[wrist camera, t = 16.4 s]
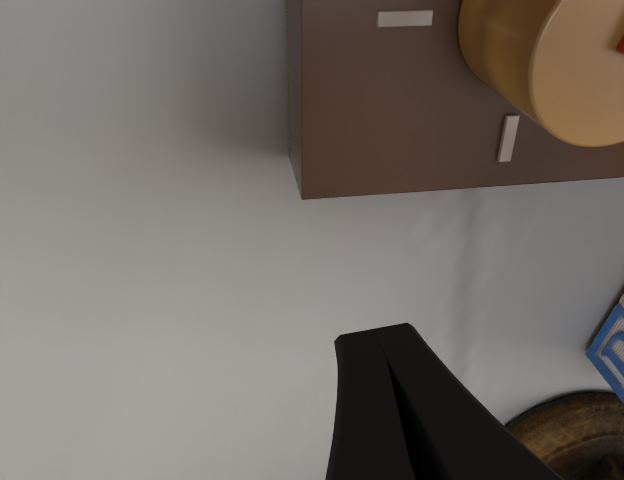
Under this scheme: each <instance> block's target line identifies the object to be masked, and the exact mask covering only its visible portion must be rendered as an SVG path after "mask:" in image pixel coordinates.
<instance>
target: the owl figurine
mask: <svg viewBox="0 0 624 480" xmlns="http://www.w3.org/2000/svg"><path fill="white" fill-rule="evenodd" d="M505 428H506V429H508V430H509V431H510V432H511V433H512V434H513V435H514V436H515V437H516V438H517V439H519V440H520V441H521V442H522V443H523V444H524V445H525V446H526V447H527V448H528V449H529V450H531V451H532V452H533V453H534V454H535V455H536V456H538V457H539V458H540V459H541V460H542V461H543V462H544V463H546V464H547V465H548V466H549V467H550V468H552V469H553V470H554V471H555V472H556V473H558V474H559V475H560V476H561V477H562V478H564V479H565V480H624V403H623V402H622V401H621V400H620V398H619V397H618V396H617V395H616V394H609V393H607V394H603V393H590V394H577V395H572V396H567V397H564V398H561V399H559V400H556V401H553V402H552V403H549V404H543V405H541V406H538V407H536V408H533V409H531V410H530V411H528V412H527V413H525V414H523V415H522V416H520V417H519V418H518V419H516V420H515V421H512V422H511V423H510V424H509V425H507V426H506V427H505Z"/></svg>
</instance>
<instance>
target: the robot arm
mask: <svg viewBox="0 0 624 480" xmlns="http://www.w3.org/2000/svg"><path fill="white" fill-rule="evenodd" d="M334 343H335V350H336V357H337V364H338V387H337V403H336V413H335V423H334V432H333V439H332V446H331V451H330V457H329V463H328V468H327V474H326V480H565V479H564V478H562V477H561V476H560V475H559V474H558V473H556V472H555V471H554V470H553V469H552V468H550V467H549V466H548V465H547V464H546V463H544V462H543V461H542V460H541V459H540V458H539V457H538V456H536V455H535V454H534V453H533V452H532V451H531V450H529V449H528V448H527V447H526V446H525V445H524V444H523V443H522V442H521V441H520V440H519V439H517V438H516V437H515V436H514V435H513V434H512V433H511V432H510V431H509V430H508V429H506V428H505V427H504V426H503V425H502V424H501V423H500V422H499V421H498V420H497V419H496V418H495V417H494V416H493V415H492V414H491V413H490V412H489V411H488V410H487V409H486V408H485V407H484V406H483V405H482V404H481V403H480V402H479V401H478V400H477V399H476V398H475V397H474V396H473V395H472V394H471V393H470V392H469V391H468V390H467V389H466V388H465V387H464V386H463V384H462V383H461V382H460V381H459V380H458V379H457V378H456V377H455V376H454V375H453V374H452V373H451V371H450V370H449V369H448V368H447V367H446V366H445V365H444V364H443V362H442V361H441V360H440V359H439V358H438V357H437V355H436V354H435V353H434V352H433V351H432V350H431V348H430V347H429V346H428V345H427V343H426V342H425V341H424V340H423V338H422V337H421V336H420V335H419V333H418V332H417V331H416V329H415V328H414V327H413V326H412V325H410V324H409V323H403V324H398V325H392V326H387V327H381V328H376V329H370V330H365V331H359V332H354V333H348V334H343V335H340V336H339V337H338V338H337V339H336V340H335V341H334Z"/></svg>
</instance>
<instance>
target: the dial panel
mask: <svg viewBox="0 0 624 480" xmlns="http://www.w3.org/2000/svg"><path fill="white" fill-rule="evenodd" d="M462 1H463V0H286V4H287V64H288V125H289V159H290V162H291V165H292V169H293V172H294V175H295V179H296V182H297V185H298V189H299V192H300V195H301V198H302V200H306V199H321V198H335V197H349V196H363V195H377V194H392V193H406V192H420V191H434V190H449V189H463V188H477V187H491V186H506V185H520V184H534V183H548V182H562V181H577V180H591V179H605V178H619V177H624V141H623V142H620V143H617V144H613V145H608V146H601V147H583V146H577V145H572V144H569V143H566V142H564V141H561V140H559V139H558V138H556V137H554V136H553V135H551V134H550V133H549V132H548V131H546V130H545V129H544V128H542V127H541V126H540V125H538V124H537V123H536V122H535V121H533V120H532V119H531V118H529V117H528V116H527V115H525V114H524V113H523V112H522V111H520V110H519V109H518V108H516V107H515V106H514V105H512V104H511V103H510V102H509V101H507V100H506V99H505V98H503V97H502V96H501V95H499V94H498V93H497V92H496V91H494V90H493V89H492V88H490V87H489V86H488V85H486V84H485V83H484V82H483V81H481V80H480V79H479V78H478V77H477V76H476V75H475V74H474V73H473V72H472V71H471V70H470V68H469V66H468V65H467V63H466V61H465V59H464V57H463V54H462V51H461V47H460V43H459V35H458V23H459V15H460V9H461V5H462Z"/></svg>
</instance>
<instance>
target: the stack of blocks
mask: <svg viewBox="0 0 624 480" xmlns="http://www.w3.org/2000/svg"><path fill="white" fill-rule="evenodd" d="M586 355H587V357H588V358H589V359H590V361H591V362H592V363H593V364H594V366H595V367H596V368H597V370H598V371H599V372H600V373H601V375H602V376H603V378H604V379H605V380H606V381H607V382H608V384H609V385H610V386H611V388H612V389H613V390H614V392H615V393H616V394H617V396H618V397H619V398H620V400H621V401H622V402H623V403H624V293H623V295H622V297H621V298H620V300H619V303H618V304H617V305H616V306H615V307H614V309H613V310H612V312H611V313H610V315H609V317H608V318H607V320H606V321H605V323H604V324H603V326H602V328H601V329H600V331H599V333H598V334H597V336H596V337H595V339H594V341H593V342H592V344H591V345H590V347H589V348H588V350H587V352H586Z"/></svg>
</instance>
